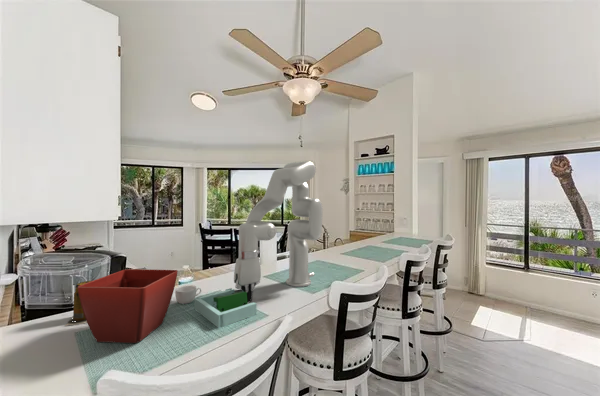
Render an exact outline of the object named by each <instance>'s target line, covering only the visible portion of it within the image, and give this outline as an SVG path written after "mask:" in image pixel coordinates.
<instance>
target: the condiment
mask: <svg viewBox="0 0 600 396" xmlns="http://www.w3.org/2000/svg"><path fill="white" fill-rule="evenodd" d="M91 281H92V280H86V281H81V282H78V283H76V284H75V292H74V293H73V313H72V314H73V316H72V317H73V319H72V318H71V319H69V321H67V323H66V324H65V325H64V326H66V327H67V326H76V325H77V326H78V325H83V324H88V323H87V321H86V318H85V316H84V313H83V309H82V306H81V302H80V297H79V292H78V286H80V285H82V284H85V283H88V282H91ZM72 321H76V322H72Z"/></svg>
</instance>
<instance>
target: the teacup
mask: <svg viewBox="0 0 600 396" xmlns="http://www.w3.org/2000/svg"><path fill="white" fill-rule="evenodd" d="M198 290H199V292H198ZM174 291H175V292H174V293H175V300H176V301H177V303H178V304H181V305H187V304H191V303H192V302H193V301H194V298H197V296H198V295H200V294H201V293H202V289H201V288H200V287H197V286H196V285H189V284H188V285H182V286H178V287H175V288H174ZM197 292H198V293H197Z"/></svg>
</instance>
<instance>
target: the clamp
mask: <svg viewBox="0 0 600 396" xmlns="http://www.w3.org/2000/svg"><path fill="white" fill-rule="evenodd" d="M213 299H214V302H216V305H215V306H216V309H217V310H218V311H220V312H224V311H227V310H231V309H234V308H237V307H240V306H243V305H247V304H249V302H248V301H247V292H235V293H232V294H231V295H225V296H217V297H213Z"/></svg>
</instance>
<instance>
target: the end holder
mask: <svg viewBox="0 0 600 396" xmlns="http://www.w3.org/2000/svg"><path fill="white" fill-rule="evenodd" d="M225 295H231V290H226V289H225V290H222V291H217V292H213V293H211V294H207V295H203V296H199V297H195V298H194V300H193V301H194V302H193V303H194V305H193V306H194V307H193V310H195V311H196V312H197V313H199V314H200V315H201V316H203V317H204V318H205V319H206V320H208V321H209V323H212V324H213V325H214V326H216V327H217V328H218V329H220V328H222V327H225V326H228V325H229V326H230V325H231V324H234V323H236V322H239V321H242V320H244V319H248V318H250V317H254V316H257V302H253V301H252V302H250V303H248V304H247V305H243V306H240V307H237V308H234V309H231V310H227V311H224V312H220V311H218V310H217V308H215V307H214V306H216V302H214V299H213V297H217V296H225Z"/></svg>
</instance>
